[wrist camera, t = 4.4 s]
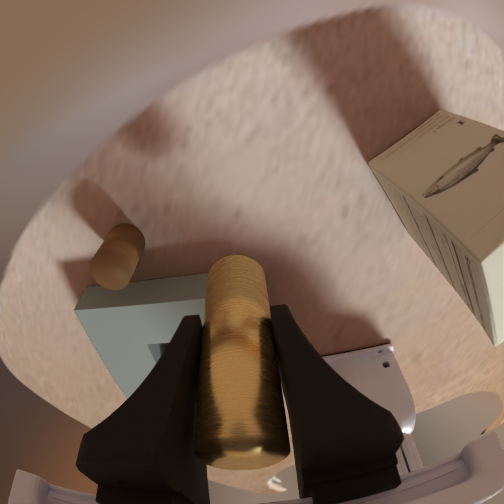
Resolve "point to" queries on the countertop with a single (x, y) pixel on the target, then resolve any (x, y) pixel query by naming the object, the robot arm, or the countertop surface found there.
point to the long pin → (239, 372)
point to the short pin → (118, 257)
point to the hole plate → (138, 322)
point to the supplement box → (454, 206)
